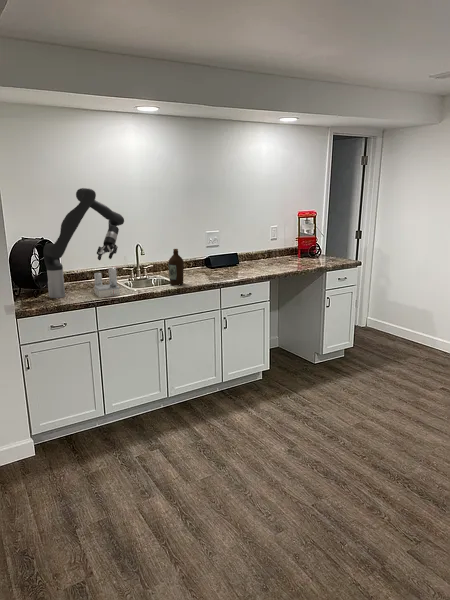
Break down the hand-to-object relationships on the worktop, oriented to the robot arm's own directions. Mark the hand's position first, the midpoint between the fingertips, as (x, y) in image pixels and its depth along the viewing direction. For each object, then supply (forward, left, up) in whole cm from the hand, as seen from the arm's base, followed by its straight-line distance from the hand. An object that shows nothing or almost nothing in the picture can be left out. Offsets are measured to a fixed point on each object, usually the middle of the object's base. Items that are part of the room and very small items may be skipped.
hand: (104, 259), depth 301 cm
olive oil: (+47, -9, -21) cm, 52 cm away
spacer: (-6, -4, -20) cm, 22 cm away
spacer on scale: (0, -18, -15) cm, 24 cm away
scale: (-3, -15, -20) cm, 26 cm away
